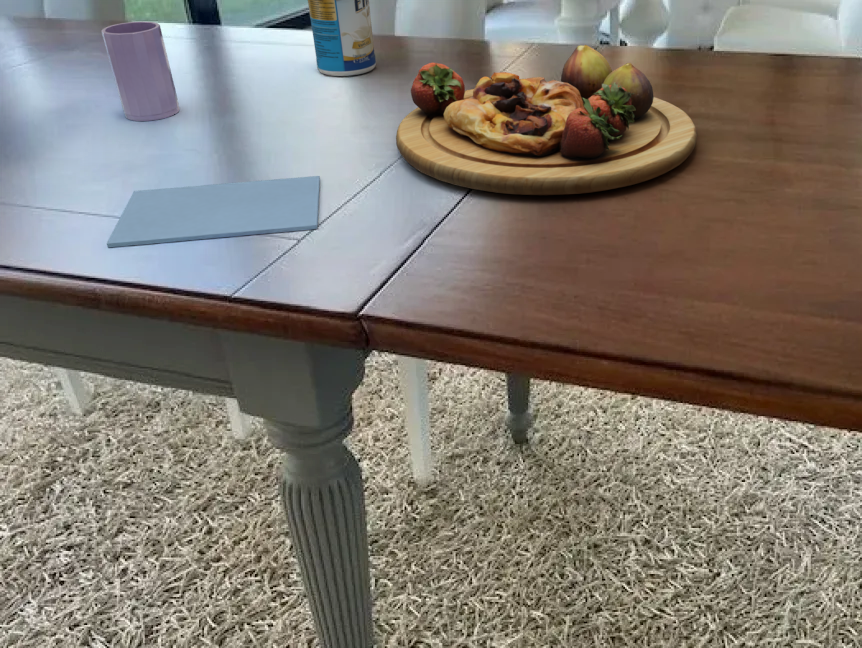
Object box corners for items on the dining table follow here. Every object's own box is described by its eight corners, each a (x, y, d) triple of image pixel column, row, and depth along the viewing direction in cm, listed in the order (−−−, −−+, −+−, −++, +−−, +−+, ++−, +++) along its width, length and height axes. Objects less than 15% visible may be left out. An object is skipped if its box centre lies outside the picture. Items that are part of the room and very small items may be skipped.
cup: (120, 122, 102) (95, 35, 97) (131, 107, 108) (108, 23, 102) (175, 118, 103) (154, 32, 98) (183, 103, 108) (163, 20, 103)
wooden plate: (334, 159, 90) (323, 79, 86) (513, 85, 111) (512, 18, 106) (591, 231, 74) (594, 138, 69) (744, 129, 95) (755, 52, 90)
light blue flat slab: (107, 247, 74) (106, 243, 74) (134, 194, 84) (133, 190, 84) (317, 229, 76) (316, 224, 76) (320, 179, 86) (319, 175, 86)
